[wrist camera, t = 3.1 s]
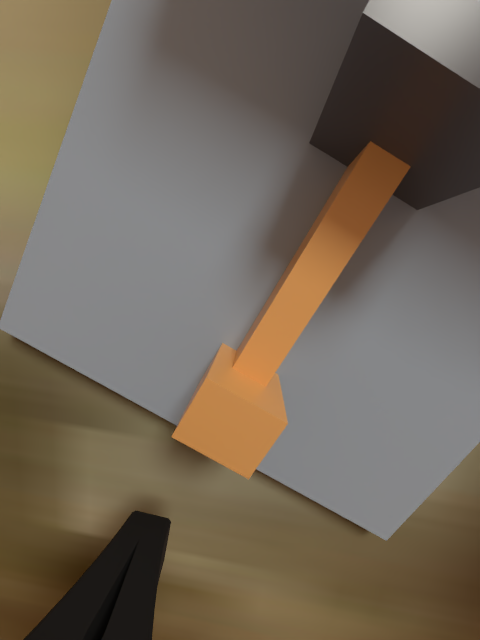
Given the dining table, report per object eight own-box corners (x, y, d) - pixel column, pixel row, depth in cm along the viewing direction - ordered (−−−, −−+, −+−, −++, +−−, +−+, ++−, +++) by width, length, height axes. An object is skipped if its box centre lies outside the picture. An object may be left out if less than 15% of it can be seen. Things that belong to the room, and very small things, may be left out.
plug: (269, 425, 10) (276, 530, 6) (179, 375, 10) (125, 449, 6) (509, 77, 7) (826, -165, 3) (389, -1, 7) (566, -362, 3)
